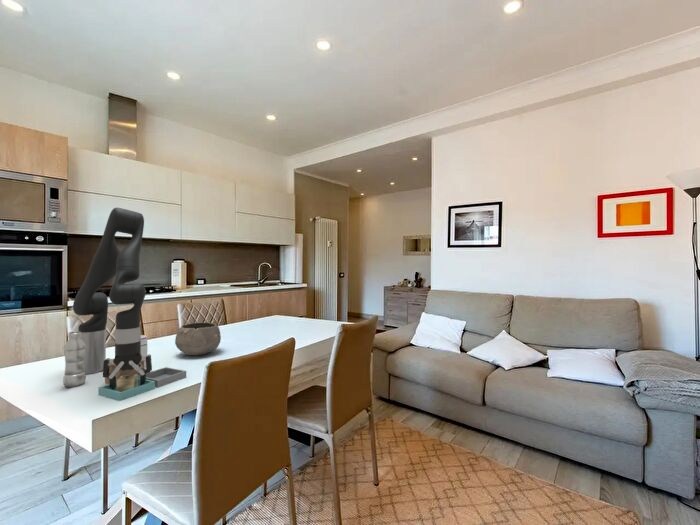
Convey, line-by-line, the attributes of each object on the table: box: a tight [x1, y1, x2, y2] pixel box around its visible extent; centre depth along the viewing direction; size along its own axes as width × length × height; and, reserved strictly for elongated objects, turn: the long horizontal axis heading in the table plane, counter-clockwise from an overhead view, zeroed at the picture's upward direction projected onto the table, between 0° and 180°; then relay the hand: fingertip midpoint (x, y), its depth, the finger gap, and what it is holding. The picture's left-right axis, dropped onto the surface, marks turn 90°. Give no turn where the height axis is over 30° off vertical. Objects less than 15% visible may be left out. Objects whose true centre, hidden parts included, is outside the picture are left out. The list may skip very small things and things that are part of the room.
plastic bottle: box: [62, 331, 86, 388], centre depth 123 cm, size 6×7×20 cm
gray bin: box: [138, 366, 187, 388], centre depth 127 cm, size 12×12×3 cm
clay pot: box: [174, 322, 222, 356], centre depth 167 cm, size 21×21×15 cm
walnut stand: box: [104, 360, 144, 385], centre depth 126 cm, size 9×9×8 cm
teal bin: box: [97, 378, 156, 402], centre depth 116 cm, size 12×12×3 cm
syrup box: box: [141, 334, 148, 370], centre depth 142 cm, size 6×6×14 cm
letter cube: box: [117, 374, 138, 392], centre depth 116 cm, size 5×5×5 cm
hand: (128, 386), depth 116 cm, fingers open, 8 cm apart
